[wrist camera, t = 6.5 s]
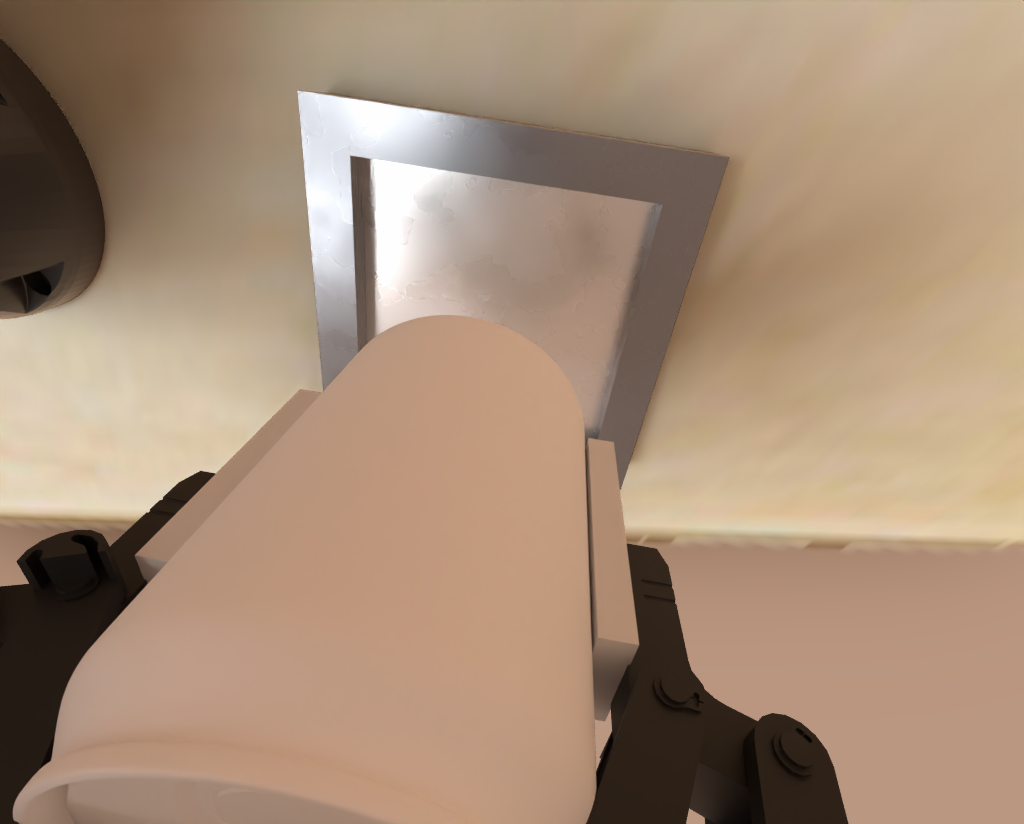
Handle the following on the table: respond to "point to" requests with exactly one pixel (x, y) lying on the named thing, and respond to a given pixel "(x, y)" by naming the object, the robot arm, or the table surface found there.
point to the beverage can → (362, 616)
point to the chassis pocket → (505, 240)
